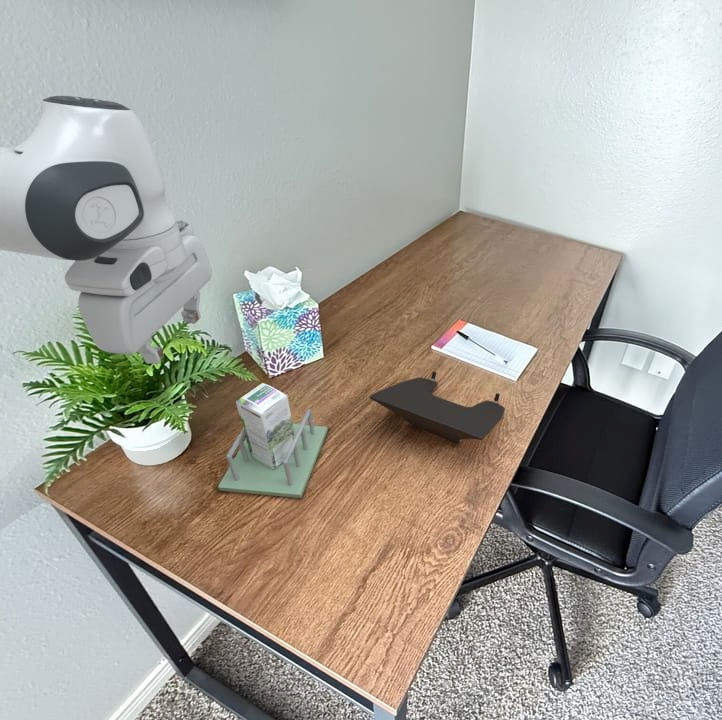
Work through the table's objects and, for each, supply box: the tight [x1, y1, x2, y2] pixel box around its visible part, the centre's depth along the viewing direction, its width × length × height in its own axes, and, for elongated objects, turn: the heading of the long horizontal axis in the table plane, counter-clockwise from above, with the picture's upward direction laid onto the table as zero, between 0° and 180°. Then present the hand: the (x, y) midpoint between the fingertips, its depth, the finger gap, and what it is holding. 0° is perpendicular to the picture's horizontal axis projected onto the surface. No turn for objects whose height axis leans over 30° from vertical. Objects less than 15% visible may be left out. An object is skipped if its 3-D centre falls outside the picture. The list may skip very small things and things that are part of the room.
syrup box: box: [235, 382, 295, 470], centre depth 81 cm, size 6×6×14 cm
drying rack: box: [217, 408, 329, 499], centre depth 84 cm, size 16×14×7 cm
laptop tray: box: [369, 370, 506, 444], centre depth 95 cm, size 23×23×9 cm
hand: (175, 339), depth 65 cm, fingers open, 8 cm apart
